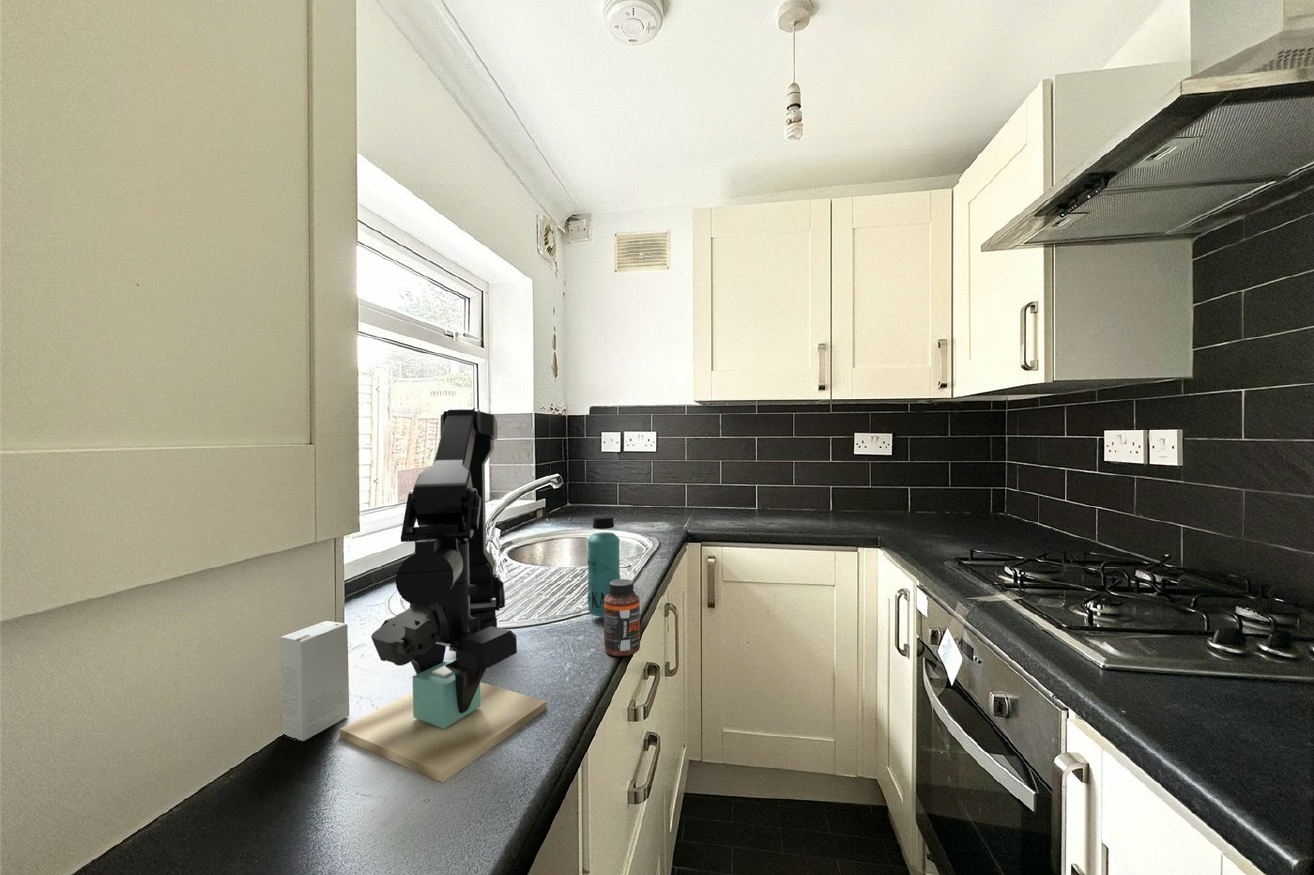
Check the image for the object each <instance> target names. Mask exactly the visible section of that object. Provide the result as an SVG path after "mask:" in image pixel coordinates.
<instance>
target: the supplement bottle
mask: <svg viewBox="0 0 1314 875" xmlns="http://www.w3.org/2000/svg"><path fill="white" fill-rule="evenodd" d="M634 585H635V583H634V580H632V579H625V578H620V579H618V580H613V581H611V582H610V583H609V590H610V593H609V594H607V595H606V596H605V598H604V616H603V638H604V640H603V641H604V642H603V644H604V651H605V652H606V653H607V654H608V655H611V656H613V657H629V656H632V655H635V654H636V653H637V652H638V651H640V649H641V620H640V619H641V616H640V615H641V612H640V608H641V607H640V606H641V605H640V596H639V594H637V593H636V592H635V591H634V590H635V589H634V587H635V586H634Z"/></svg>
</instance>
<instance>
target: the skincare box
mask: <svg viewBox="0 0 1314 875" xmlns="http://www.w3.org/2000/svg"><path fill="white" fill-rule="evenodd" d="M348 631H349V630H348V624H347V623H343V622H336V621H330V620H329V621H328V620H325V621H322V622H320V623H316V624H314V625H311V626H308V627H305V628H302V629H299V630H297V631H294V632H291V633H288V634H286V635H282V636H280V637H279V638H278V641H279V643H278V645H279V646H278V647H279V648H278V649H279V653H278V654H279V669H280V668H281V682H282V683H281V684H282V699H283V707H282V708H283V734H285V735H287V736H289V737H292V738H291V739H293V738H296V739H298V740H297V741H300V740H301V741H300V742H305V741H306V740H308V739H310V738H312V737H313V736H315V735H317V734H319V733H321V732H324V731H325V730H327V729H328V728H331V727H332V726H333V725H335V724H337V723H340V722H341V721H343V720H345V719H346V718H348V717H350V684H349V683H350V682H349V676H350V675H349V636H348ZM280 666H281V667H280ZM283 734H282V735H283ZM287 736H286V737H287ZM289 737H288V738H289ZM296 739H295V740H296Z"/></svg>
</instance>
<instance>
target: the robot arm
mask: <svg viewBox="0 0 1314 875" xmlns="http://www.w3.org/2000/svg"><path fill="white" fill-rule="evenodd" d="M439 425H440V426H439V427H440V429H439V431H440V434H439V435H440V439H439V442H438V446H437V449H436V454H435V457H434V461H433V463H432V465H431V466H430V467H427V468H426V469H425V470H423V471H421V472H420V473H419V474H418V477H417V478H416V481H415V483H414V485H413V489H412V490H410V491H409V492H408V495H407V500H406V506H405V510H404V515H403V516H404V517H403V522H402V528H401V533H400V534H401V535H400V542H401V543H408V542H409V543H411V542H414V551H413V553H412V554H411V555H409V556H408V557H407V558H406V559H404V561H402V563H401V564H400V566H399V567H398V570H397V572H396V575H395V586H396V590H397V592H398V594H399V595H400V597H401V598H402V599H403V600H404V601H406V602H407V603H409V608H407V609H406V610H404V611H402V612H400V613H398V614H397V615H395V616H393V617H390V618H388V619H385V620H384V621H383V623H382V624H381V625H380V627H379V628H377V629H376V630H375V631H373V633H372V634H371V635H370V637H371V640H372V641H371V642H373V646H374V647H375V650H376V653H377V654H378V656H379V657H378V658H379V659H380V661H382V662H386V661H387V662H388V663H389V662H390V663H393V664H394V665H395V666H406V665H408V664H409V663H411V665H412V668H413V669H414V672H415V674H416V675H417V674H419V673H421V672H423V671H425V670H428V669H430V668H432V667H434V666H436V665H438V664H440V663H443V662H445V661H444V659H445V654H446V648H447V647H448V648H449V649H452V650H455V659H456V660H455V659H454V660H455V661H453V662H451V663H449V664H447V665H445V666H446V667H447V668H448V669H449V670H451V671H452V672H453V673H454V674H455V682H456V693H457V703H458V709H459V713H464V712H465V711H467V710H468V709H469V707H470V704H471V702H472V700H473V697H474V695H475V693H476V690H477V688H478V686H479V684H480V682H482V679H483V677H484V675H485V672H486V671H487V669H490V668H491V667H493V666H495V665H497V664H499V663H500V662H502V661H504V660H507V659H508V658H510V657H512V656H514V655H515V654H518V650H517V649H518V648H517V647H518V646H517V645H518V644H517V641H518V640H517V635H516V634H515V633H514V632H513V631H512V630H510V629H505V628H500V627H498V618H497V615H496V614H497V613H496V612H499V611H500V610H501V609H503V608H504V607H506V594H505V585H504V584H505V583H504V582H503V581H502V579H501V575H500V574H499V573H498V574H497V565H496V564H497V563H496V561H495V560H494V557H492V555H491V554H490V552H489V551H488V549H487V527H486V526H487V524H486V523H487V522H486V521H487V520H486V516H487V515H486V469H485V468H486V466H485V465H486V463H487V461H488V459H489V458H490V457H491V455H492V453H493V452H494V450H495V445H494V444H495V441H497V440H498V421H497V418H496V416H495V415H494V414H491V413H489V412H488V413H487V412H484V411H481V409H480V408H475V406H474V407H469V406H468V407H465V406H464V407H448V408H446V409H445V408H444V410H443V414H441V415H440V424H439ZM416 522H417V526H415V525H416Z"/></svg>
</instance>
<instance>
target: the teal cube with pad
mask: <svg viewBox="0 0 1314 875" xmlns="http://www.w3.org/2000/svg"><path fill="white" fill-rule="evenodd" d="M453 661H455V659H452V658H451V659H446V660H445V661H443V663H440V664H438V665H436V666H434V667H432V668H430V669H428V670H425V671H423V672H421V673H419V674H416V675H415V674H414V675H413V676H412V693H413V718H416V719H419V720H422V721H424V722H427V723H430V724H433V725H435V726H438V727H441V728H446V727H448V726H449V725H451V724H453V723H454V722H456V721H458V720H459V719H461V718H463V717H464V716H466V715H467V714H469V713H471V712H472V711H474V710H476V709H477V708H479V707H481V706H480V684H479V686H478V688H477V690H476V693H475V695H474V697H473V700H472V702H471V704H470V707H469V709H468V710H467V711H465V712H464V713H459V709H458V703H457V693H456V682H455V674H454V673H453V672H452V671H451V670H449V669H448V668H447V667H446V666H445V665H447V664H449V663H451V662H453Z"/></svg>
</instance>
